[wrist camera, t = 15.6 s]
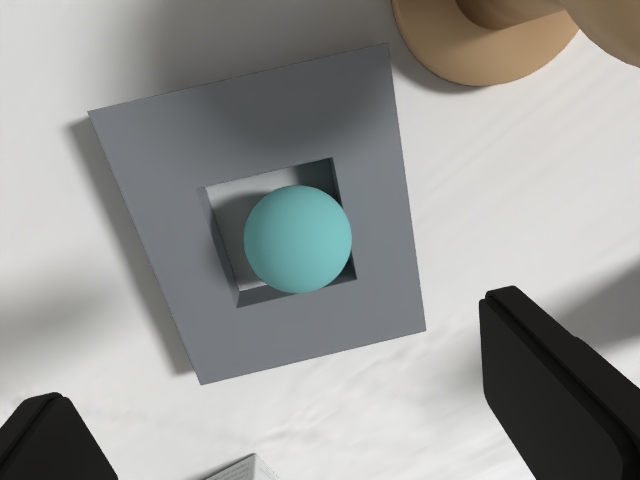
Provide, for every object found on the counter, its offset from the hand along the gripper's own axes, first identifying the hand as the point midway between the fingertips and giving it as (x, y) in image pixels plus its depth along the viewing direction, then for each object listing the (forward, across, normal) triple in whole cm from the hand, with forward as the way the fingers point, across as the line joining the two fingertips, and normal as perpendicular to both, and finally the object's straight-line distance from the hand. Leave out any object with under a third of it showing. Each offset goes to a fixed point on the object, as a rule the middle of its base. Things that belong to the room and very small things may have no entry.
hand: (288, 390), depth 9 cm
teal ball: (+14, 0, +1) cm, 14 cm away
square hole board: (+14, 0, +1) cm, 14 cm away
